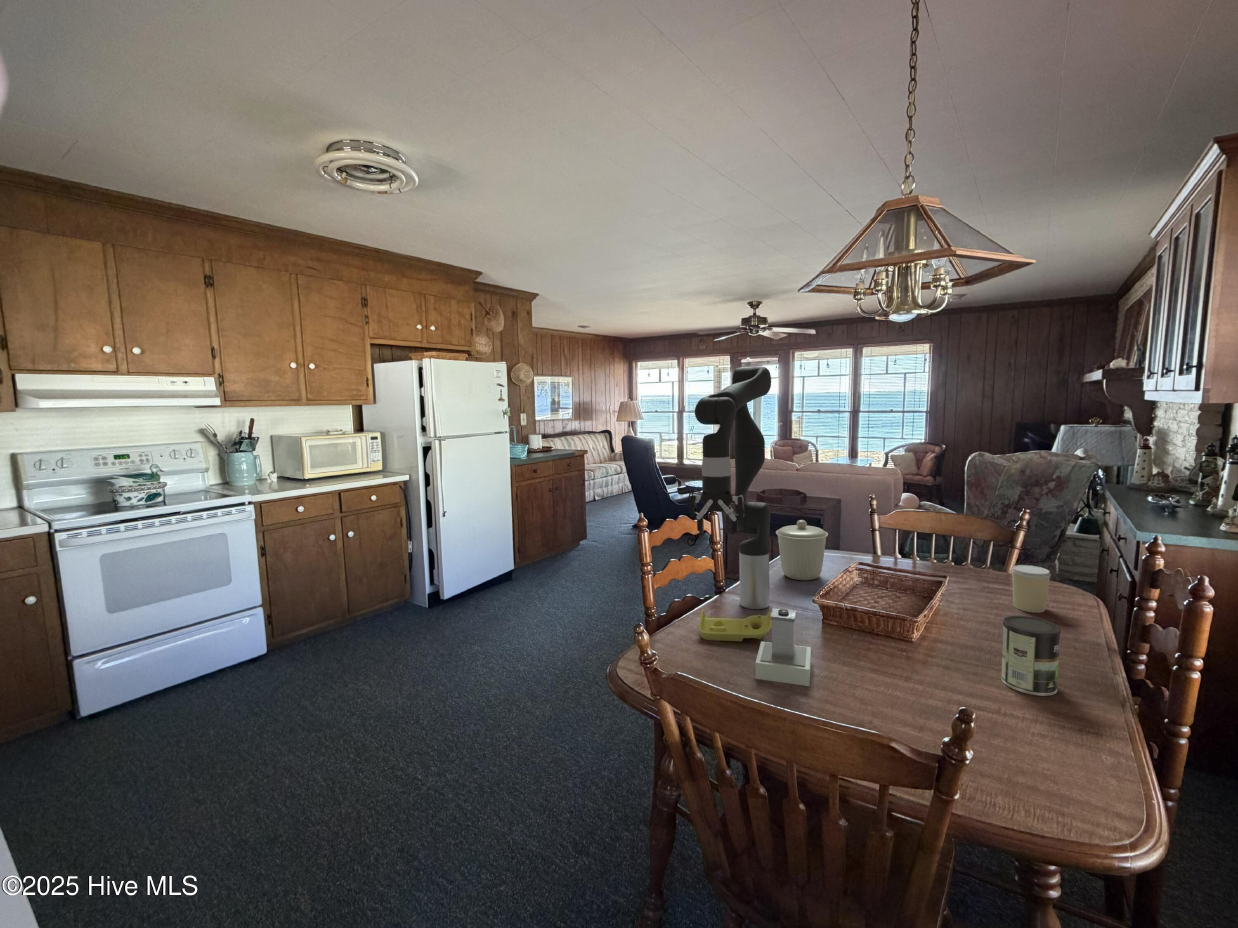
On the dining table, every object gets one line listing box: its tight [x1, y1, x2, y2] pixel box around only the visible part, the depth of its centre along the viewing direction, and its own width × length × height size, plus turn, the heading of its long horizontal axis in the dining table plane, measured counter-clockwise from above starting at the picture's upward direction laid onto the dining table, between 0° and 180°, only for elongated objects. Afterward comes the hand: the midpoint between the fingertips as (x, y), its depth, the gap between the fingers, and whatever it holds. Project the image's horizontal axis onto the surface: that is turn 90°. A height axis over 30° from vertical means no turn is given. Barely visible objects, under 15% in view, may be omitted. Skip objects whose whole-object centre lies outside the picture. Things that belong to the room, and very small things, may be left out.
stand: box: [755, 640, 812, 687], centre depth 133 cm, size 12×12×4 cm
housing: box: [771, 607, 797, 659], centre depth 132 cm, size 5×5×11 cm
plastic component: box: [698, 609, 772, 642], centre depth 154 cm, size 20×7×10 cm
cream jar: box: [1011, 564, 1052, 613], centre depth 166 cm, size 9×9×12 cm
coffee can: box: [1000, 615, 1062, 697], centre depth 123 cm, size 10×10×14 cm
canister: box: [775, 519, 829, 581], centre depth 202 cm, size 18×18×21 cm
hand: (717, 533), depth 148 cm, fingers open, 8 cm apart
